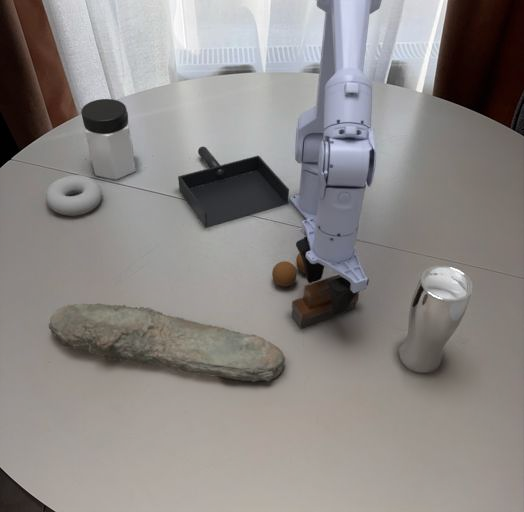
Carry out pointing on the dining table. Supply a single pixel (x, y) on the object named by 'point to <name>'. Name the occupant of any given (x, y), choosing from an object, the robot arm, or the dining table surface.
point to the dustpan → (231, 189)
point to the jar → (109, 138)
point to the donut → (73, 204)
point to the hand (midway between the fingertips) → (326, 295)
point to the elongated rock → (166, 341)
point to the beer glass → (434, 316)
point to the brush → (316, 303)
